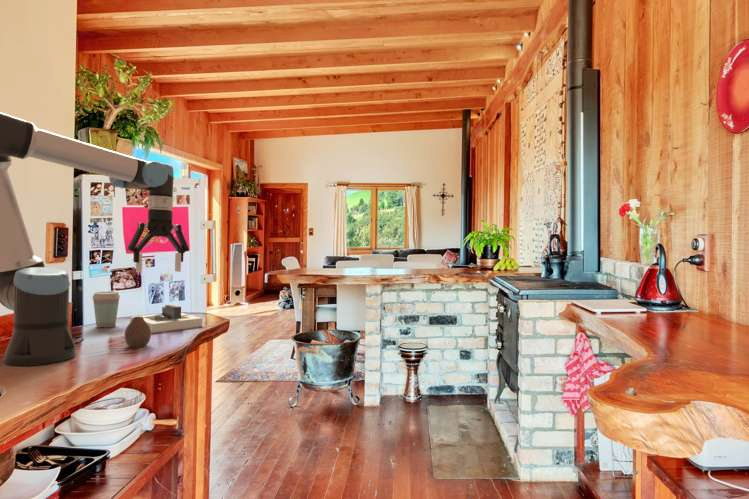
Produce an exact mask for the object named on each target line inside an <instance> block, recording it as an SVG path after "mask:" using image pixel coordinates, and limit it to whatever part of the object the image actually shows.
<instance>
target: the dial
mask: <svg viewBox="0 0 749 499" xmlns="http://www.w3.org/2000/svg"><path fill="white" fill-rule="evenodd" d="M181 313H182V306H178V305H175V304H165V306H162V307H161V313H157V314H158V315H155V316H154V321H156V322H160V321H168V320H174V319H178V318H181Z"/></svg>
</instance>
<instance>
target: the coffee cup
mask: <svg viewBox="0 0 749 499" xmlns="http://www.w3.org/2000/svg"><path fill="white" fill-rule="evenodd" d="M91 299H92V300H93V310H94V318H95V327H96V326H97V327H110V328H113V327H116V324H117V316H118V310H119V301H120V299H121V297H120V294H119V292H118V291H97V292H94V293H93V296H92V298H91ZM97 327H96V328H97Z"/></svg>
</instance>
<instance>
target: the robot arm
mask: <svg viewBox="0 0 749 499" xmlns="http://www.w3.org/2000/svg"><path fill="white" fill-rule="evenodd" d="M11 157H13V158H17V159H21V160H25V159H27V158H33V159H37V160H41V161H46V162H49V163H53V164H57V165H61V166H65V167H68V168H73V169H78V170H80V171H85V172H89V173H92V174H97V175H101V176H105V177H108V179H109V182H110V185H111V186H113V187H114V188H121V189H129V190H138V191H139V190H140V191H148V202H147V205H148V206H147V207H148V208H149V209H148V211H147V223H145V222H139V223H137V229H136V231H135V233H134V234H133V236H132V239H131V241H130V242H129V245H128V246H127V251H130V252H132V254H133V260H132V261H133V263H135V272H136V273H139V274H142V273H143V271H142V269H143V252H141V251H142V250H143V249H144V248H145V247H146V245H147V244H148V243H149V242H150V240H152V238H154V237H162V238H163V237H165V238H167V240H168V241H169V242H170V243H171V245H172V246H173V248H175V250H176V251H177V252H175V255H174V258H175V260H174V262H175V263H174V272H177V273H179V272H182V271H181V270H182V269H181V268H182V263H183V262H184V254H185V253H186V252H189V251H190V248H189V246H188V244H187V241H186V238H185V236H184V234H183V231H182V225H181V224H173V210H172V209H174V208H173V207H174V206H173V202H174V200H173V199H174V180H175V178H174V167H173V165H171V164H169V163H162V162H161V161H156V160H149V161H147V160H144V159H140V158H137V157H134V156H131V155H127V154H124V153H120V152H117V151H114V150H110V149H108V148H104V147H100V146H97V145H94V144H91V143H87V142H84V141H81V140H78V139H73V138H70V137H67V136H64V135H60V134H58V133H54V132H52V131H51V132H50V131H49V130H44V129H40V128H38V127H37V126H36V125H35V124H34V123H33V122H31V121H28V120H25V119H22V118H18V117H16V116H12V115H10V114H8V113H3V112H0V304H1V305H2V306H3V307H5V308H7V309H8V310H11V311H13V332H12V335H11V338H10V340H9V342H8V345H7V347H6V350H5V352H4V363H5V364H6V365H10V366H24V367H25V366H40V365H47V364H54V363H59V362H63V361H67V360H69V359H72V358H75V356H76V355H77V348H76V344H75V341H74V338H73V336H72V333H71V331H70V328H69V315H70V314H69V313H70V312H69V311H70V310H69V308H70V307H69V306H70V304H69V303H70V285H71V283H70V278H69V273H68V272H67V271H65V270H63V269H60V268H53V267H46V265H45V262H44V260H43V259H42V258H40V257H38V256H36V255H35V253H34V251H33V247H32V244H31V240H30V237H29V234H28V231H27V228H26V225H25V221H24V219H23V214H22V212H21V209H20V206H19V204H18V200H17V197H16V194H15V190H14V187H13V185H12V181H11V178H10V175H9V174H10V173H9V171H8V169H9V168H10V167H11V165H12V164H13V162H12V158H11ZM146 229H147V230H148V232H147V233H146V234H145V236H144V237H143V238H142V239H141V237H142V235H143V233H144V231H145V230H146ZM172 230H173V231H174V233H175V235H176V237H177V239H178V240H177V239H176V238H175V236H174V234H173V233H172ZM140 239H141V240H140ZM139 241H140V242H139Z"/></svg>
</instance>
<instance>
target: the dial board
mask: <svg viewBox="0 0 749 499" xmlns="http://www.w3.org/2000/svg"><path fill="white" fill-rule="evenodd" d="M158 314H159V313H157V314H156V313H155V314H146V315H138V316H130V317H129V318H130V319H129V320H130V321H129V324H130V323H131V321H132V320H133V318H134V317H143V319H144V321H145V322H146V323H147V324H148V325H149V327H150V330H151V334H155V333H162V332H168V331H177V330H185V329H192V328H199V326H201V327H203V317H199V316H196V315H192V314H188V313H184V312H181V318H178V319H174V320H168V321H160V322H156V321H154V316H155V315H158Z"/></svg>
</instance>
